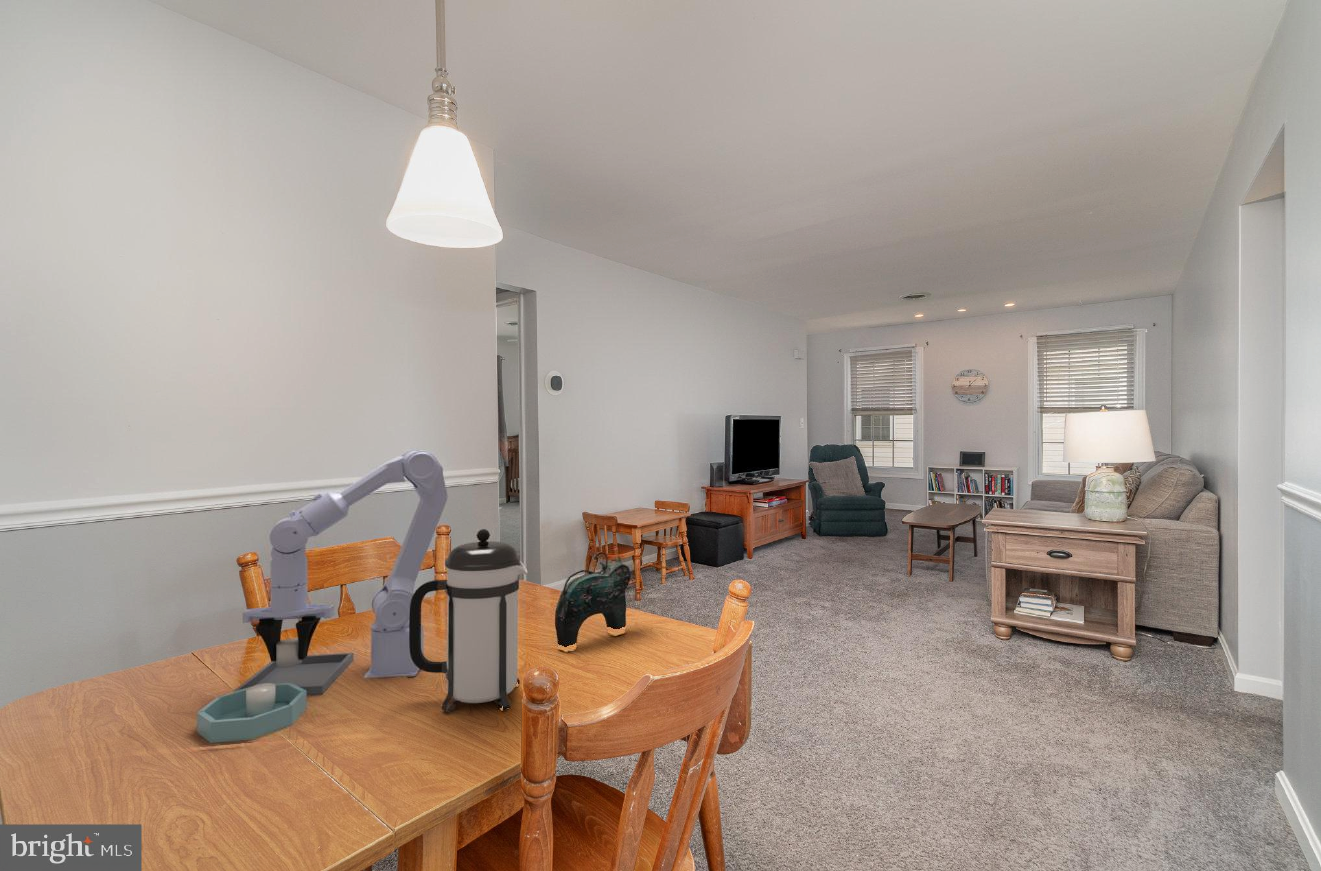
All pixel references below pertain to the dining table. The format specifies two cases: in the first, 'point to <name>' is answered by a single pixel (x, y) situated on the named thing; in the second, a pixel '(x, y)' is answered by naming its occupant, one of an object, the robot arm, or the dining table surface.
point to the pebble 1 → (260, 699)
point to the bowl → (231, 724)
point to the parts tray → (304, 673)
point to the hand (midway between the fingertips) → (289, 658)
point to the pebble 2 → (287, 653)
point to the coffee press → (475, 622)
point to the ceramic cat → (592, 600)
